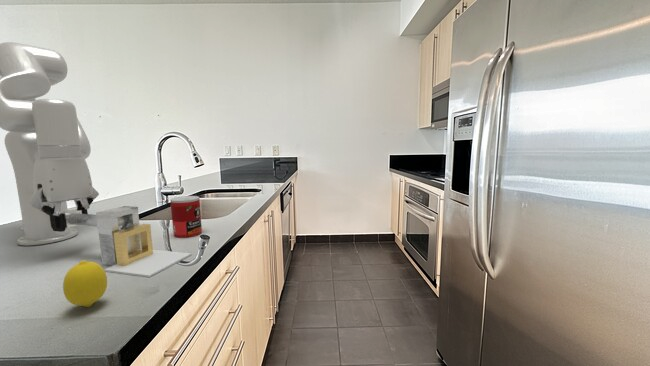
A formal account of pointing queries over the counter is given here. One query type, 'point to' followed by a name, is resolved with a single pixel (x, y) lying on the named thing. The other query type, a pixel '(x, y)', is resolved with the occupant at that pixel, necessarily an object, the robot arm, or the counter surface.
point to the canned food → (186, 216)
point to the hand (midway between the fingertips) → (71, 227)
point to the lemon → (85, 283)
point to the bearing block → (109, 226)
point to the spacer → (121, 244)
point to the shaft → (86, 219)
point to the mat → (150, 263)
